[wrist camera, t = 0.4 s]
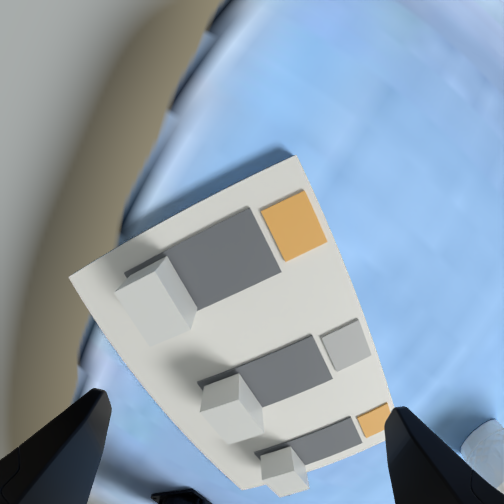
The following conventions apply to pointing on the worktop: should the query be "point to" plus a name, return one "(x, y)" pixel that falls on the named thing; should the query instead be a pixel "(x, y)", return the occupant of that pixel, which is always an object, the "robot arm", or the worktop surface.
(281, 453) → the block
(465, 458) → the white cup
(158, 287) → the near slider
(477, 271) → the worktop surface
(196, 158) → the worktop surface
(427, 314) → the worktop surface
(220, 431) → the middle slider
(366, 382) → the switch unit
